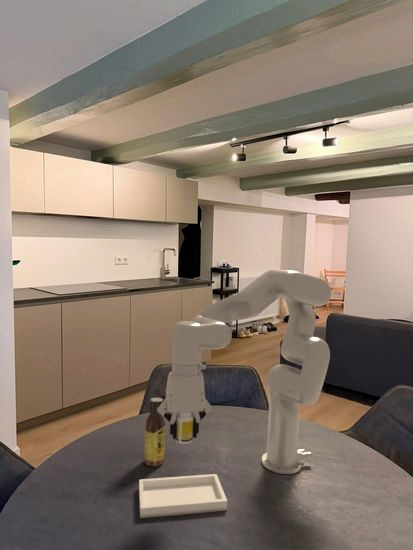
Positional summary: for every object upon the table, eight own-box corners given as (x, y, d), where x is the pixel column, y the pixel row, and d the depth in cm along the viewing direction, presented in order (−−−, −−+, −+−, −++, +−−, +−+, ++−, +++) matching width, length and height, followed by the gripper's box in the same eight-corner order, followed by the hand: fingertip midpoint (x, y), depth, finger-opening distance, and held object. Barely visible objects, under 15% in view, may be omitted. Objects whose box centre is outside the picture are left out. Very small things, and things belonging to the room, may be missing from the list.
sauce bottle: (160, 469, 116) (162, 404, 116) (140, 466, 118) (143, 402, 117) (166, 458, 123) (169, 397, 122) (148, 455, 124) (150, 395, 123)
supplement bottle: (196, 438, 103) (197, 407, 103) (187, 445, 99) (189, 413, 98) (180, 434, 105) (181, 404, 105) (171, 441, 101) (172, 410, 100)
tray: (216, 482, 110) (216, 473, 110) (226, 510, 98) (227, 500, 98) (138, 488, 106) (139, 479, 106) (140, 518, 94) (140, 508, 94)
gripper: (214, 364, 106) (212, 428, 107) (153, 365, 103) (151, 431, 104) (220, 372, 99) (218, 441, 100) (154, 373, 96) (152, 445, 96)
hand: (184, 435), depth 102 cm, fingers closed on supplement bottle, 4 cm apart
